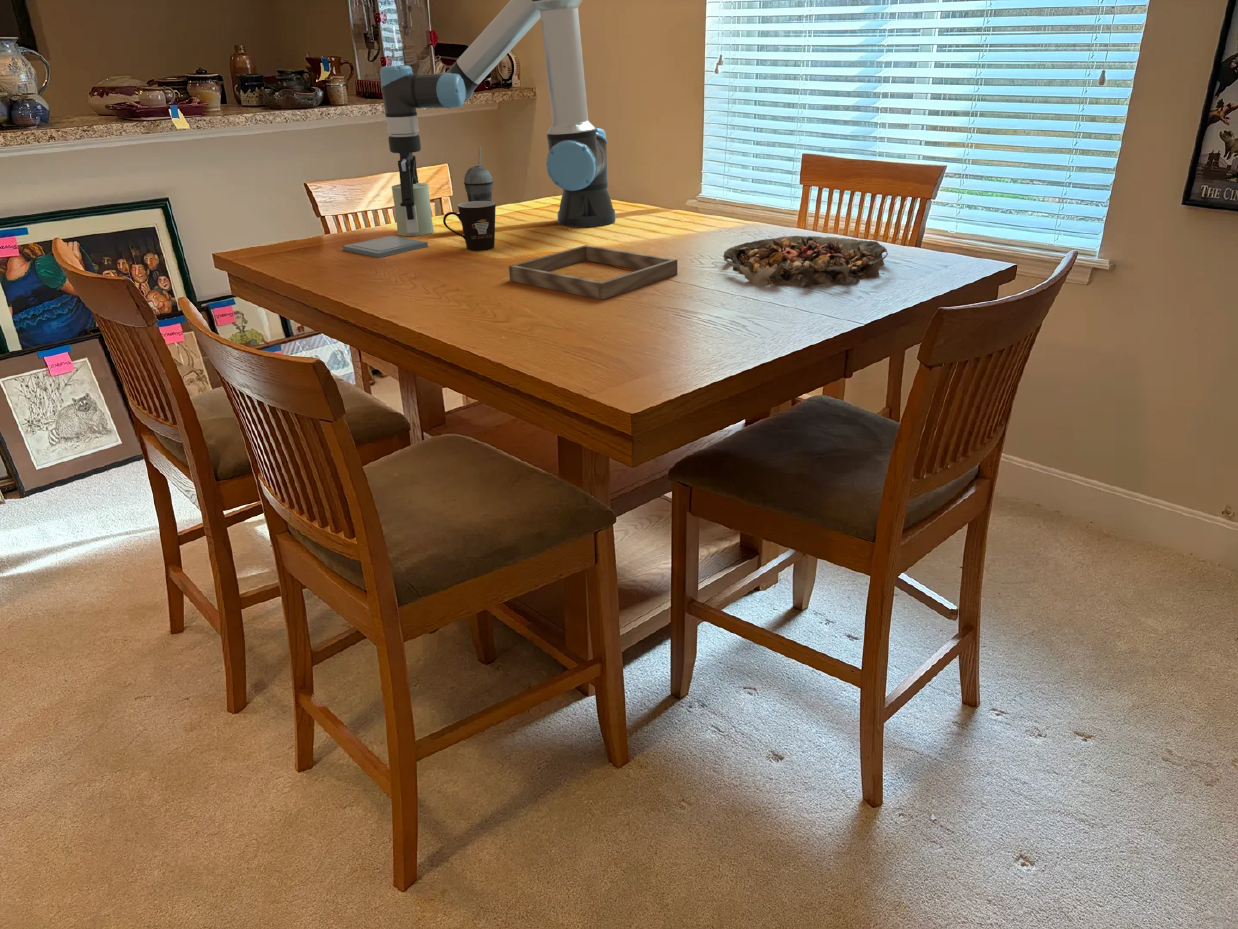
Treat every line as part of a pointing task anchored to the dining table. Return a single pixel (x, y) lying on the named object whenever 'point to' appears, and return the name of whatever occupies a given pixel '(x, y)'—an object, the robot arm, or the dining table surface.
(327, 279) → the dining table surface
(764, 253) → the food dish
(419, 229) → the can
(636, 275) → the walnut frame
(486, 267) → the dining table surface
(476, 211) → the coffee mug
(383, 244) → the slate coaster
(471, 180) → the beverage cup
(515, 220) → the dining table surface
